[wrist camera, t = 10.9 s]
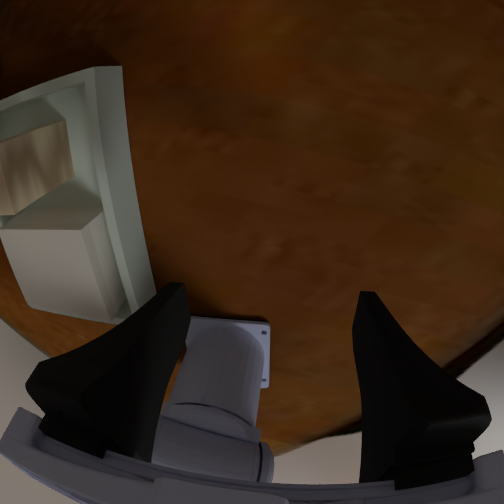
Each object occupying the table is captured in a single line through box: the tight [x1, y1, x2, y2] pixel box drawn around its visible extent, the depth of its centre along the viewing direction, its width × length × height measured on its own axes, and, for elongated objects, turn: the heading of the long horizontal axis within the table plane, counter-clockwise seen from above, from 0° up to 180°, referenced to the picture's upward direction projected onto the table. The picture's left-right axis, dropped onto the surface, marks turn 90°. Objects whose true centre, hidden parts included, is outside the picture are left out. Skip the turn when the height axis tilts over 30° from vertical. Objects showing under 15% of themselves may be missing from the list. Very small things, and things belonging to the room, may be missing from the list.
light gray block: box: [0, 206, 127, 322], centre depth 23 cm, size 8×10×4 cm
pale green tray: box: [0, 66, 157, 325], centre depth 22 cm, size 20×14×4 cm
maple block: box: [0, 120, 75, 216], centre depth 17 cm, size 4×4×7 cm
